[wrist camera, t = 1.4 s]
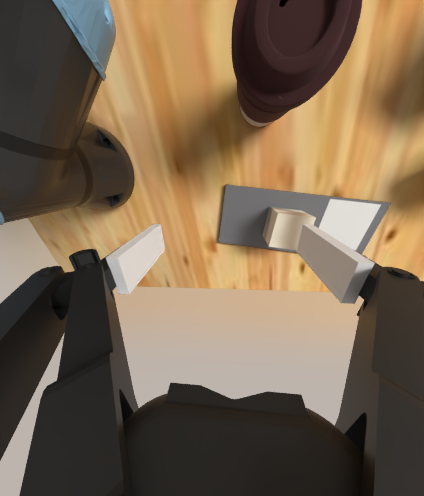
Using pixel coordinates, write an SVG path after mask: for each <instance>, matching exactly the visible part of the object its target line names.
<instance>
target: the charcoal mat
mask: <svg viewBox="0 0 424 496" xmlns="http://www.w3.org/2000/svg"><path fill="white" fill-rule="evenodd" d="M390 204H391V203H386V202H377V201H368V200H359V199H350V198H342V197H333V196H324V195H315V194H306V193H297V192H288V191H279V190H270V189H261V188H252V187H243V186H235V185H226V188H225V196H224V204H223V212H222V220H221V228H220V236H219V242H220V243H227V244H235V245H243V246H250V247H258V248H266V249H273V250H281V251H289V252H296V251H297V250H290V249H283V248H275V247H269V246H268V244H267V243H266V241H265V239H264V237H263V231H264V227H265V223H266V219H267V215H268V211H269V207H270V206H271V207H279V208H288V209H296V210H302V211H304V212H306V213H308V214H310V215H312V216H314V217H316V220H315V222H314V226H316V227H317V228H319V229H320V230H322V231H324V232H325V233H327V234H329V235H330V236H332V237H333V238H335V239H337V240H338V241H340V242H341V243H343V244H345V245H346V246H348V247H349V248H351V249H353V250H355V251H357V252H359V253H360V254H362V253H363V251H364V249H365V248H366V246H367V244H368V242H369V241H370V239H371V237H372V235H373V234H374V232H375V230H376V229H377V227H378V225H379V223H380V222H381V220H382V218H383V216H384V215H385V213H386V211H387V210H388V208H389V206H390ZM296 253H297V252H296Z"/></svg>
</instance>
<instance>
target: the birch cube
mask: <svg viewBox="0 0 424 496" xmlns="http://www.w3.org/2000/svg"><path fill="white" fill-rule="evenodd" d="M315 220H316V217H314V216H312V215H310V214H308V213H306V212H304V211H302V210H296V209H288V208H279V207H271V206H270V207H269V211H268V215H267V219H266V223H265V227H264V231H263V237H264V239H265V241H266V243H267V244H268V246H269V247H275V248H283V249H290V250H297V247H298V243H299V238H300V234H301V230H302V225H303V224H312V225H314V222H315Z"/></svg>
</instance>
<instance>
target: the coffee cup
mask: <svg viewBox="0 0 424 496" xmlns="http://www.w3.org/2000/svg"><path fill="white" fill-rule="evenodd" d="M361 7H362V0H238V1H237V4H236V8H235V13H234V19H233V26H232V62H233V68H234V72H235V76H236V79H237V92H238V99H239V104H240V110H241V113H242V115H243V117H244V118H245V120H246V121H247V122H248V123H250V124H251V125H254V126H258V127H261V126H266V125H268V124H270V123H272V122H273V121H275V120H277V119H279V118H280V117H282V116H283V115H284V114H286V113H287V112H288V111H289V110H291V109H293V108H296V107H298V106H300V105H301V104H303V103H305V102H306V101H308V100H309V99H310V98H311V97H313V96H314V95H315V94H316V93H317V92H318V91H319V90H320V89H321V88H322V87H323V86H324V85H325V84H326V83H327V82H328V81H329V80H330V79H331V77H332V76H333V75H334V74H335V72H336V71H337V69H338V68H339V66H340V65H341V63H342V62H343V60H344V58H345V56H346V54H347V52H348V50H349V48H350V46H351V43H352V41H353V38H354V36H355V33H356V29H357V25H358V21H359V18H360V13H361Z"/></svg>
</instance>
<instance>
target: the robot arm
mask: <svg viewBox="0 0 424 496" xmlns="http://www.w3.org/2000/svg"><path fill="white" fill-rule="evenodd" d="M115 37H116V27H115V21H114V16H113V13H112V10H111V7H110V4H109V2H108V0H0V225H2V224H3V223H6V222H10V221H15V220H19V219H23V218H28V217H32V216H37V215H41V214H46V213H50V212H55V211H59V210H64V209H69V208H73V207H83V208H90V209H97V210H107V209H112V208H115V207H118V206H120V205H122V204H124V203H125V202H126V201H127V200H128V199H129V197H130V196H131V194H132V191H133V187H134V171H133V166H132V163H131V160H130V158H129V156H128V154H127V152H126V150H125V148H124V147H123V146H122V144H121V143H120V142H119V141H118V140H117V139H116V137H114V136H113V135H112V134H111V133H110V132H108V131H107V130H105V129H103V128H101V127H99V126H96V125H94V124H91V123H88V122H86V120H87V117H88V114H89V112H90V109H91V107H92V104H93V102H94V99H95V96H96V94H97V91H98V89H99V86H100V84H101V82H102V80H103V81H104V80H105V79H106V74H105V71H106V68H107V64H108V61H109V58H110V55H111V52H112V48H113V45H114V42H115ZM164 250H165V247H164V241H163V235H162V230H161V224H152V225H151V226H150V227H148V228H147V229H145V230H144V231H143V232H141V233H140V234H138V235H137V236H136V237H134V238H133V239H131V240H130V241H128V242H127V243H126V244H124V245H123V246H121V247H120V248H118V249H116V250H115V251H114V252H112V253H111V254H110V255H108V256H106V257H105V258H103V259H102V260H101V261H100V258H99V255H98V253H97V251H96V250H95V249H87V250H82V251H78V252H76V253H73V254H72V255H70V256H69V259H70V261H71V263H72V265H73V267H74V269H75V271H73V272H67V273H65V272H64V271H63V269H62V267H61V266H53V267H47V268H43V269H41V270H40V271H38V272H36V273H34V274H33V275H31V276H30V277H29V278H28V279H27V280H26V281H25V282H24V283H23V284H22V285H20V286H19V288H17V289H16V290H15V291H14V292H13V293H12V294H11V295H10V296H8V297H7V298H6V299H5V300H4V301H3V302H2V303H1V304H0V460H1V458H2V456H3V454H4V452H5V450H6V448H7V446H8V444H9V442H10V440H11V438H12V436H13V434H14V432H15V430H16V428H17V426H18V424H19V422H20V420H21V418H22V416H23V414H24V412H25V410H26V408H27V406H28V404H29V402H30V400H31V398H32V396H33V394H34V392H35V390H36V388H37V386H38V384H39V382H40V380H41V378H42V376H43V374H44V372H45V370H46V368H47V366H48V364H49V362H50V360H51V358H52V356H53V354H54V352H55V350H56V348H57V346H58V344H59V342H60V340H61V338H62V336H63V334H64V332H65V335H64V341H63V347H62V353H61V360H60V366H59V372H58V378H57V381H56V382H54V383H52V384H50V385H48V386H47V387H46V389H45V390H44V391H43V394H42V397H41V400H40V404H39V409H38V414H37V418H36V423H35V427H34V432H33V437H32V441H31V446H30V450H29V455H28V460H27V464H26V469H25V474H24V478H23V482H22V487H21V491H20V496H424V281H420V280H419V278H418V277H417V276H415V275H414V274H412V273H410V272H407V271H405V270H402V269H398V268H393V267H382V266H380V265H378V264H377V263H375V262H373V261H372V260H370V259H368V258H367V257H365V256H363V255H362V254H360V253H359V252H357V251H355V250H353V249H351V248H349V247H348V246H346V245H345V244H343V243H341V242H340V241H338V240H337V239H335V238H333V237H332V236H330V235H329V234H327V233H325V232H324V231H322V230H320V229H319V228H317V227H316V226H314V225H312V224H303V225H302V230H301V234H300V238H299V243H298V247H297V251H296V252H297V253H298V254H299V255H300V256H301V258H302V259H303V260H304V261H305V262H306V263H307V264H308V266H309V267H310V268H311V269H312V270H313V271H314V273H315V274H316V275H317V276H318V277H319V278H320V279H321V281H322V282H323V283H324V284H325V285H326V286H327V288H328V289H329V290H330V291H331V292H332V293H333V294H334V296H335V297H336V298H337V299H338V300H339V301H340V303H353V304H354V303H355V302H356V300H357V298H358V296H361V297H362V298H363V299H364V302H363V304H362V306H361V308H360V310H359V311H358V313H357V316H359V321H358V325H357V330H356V336H355V341H354V345H353V350H352V355H351V359H350V364H349V369H348V374H347V379H346V384H345V389H344V394H343V398H342V404H341V408H340V413H339V416H338V419H337V422H336V424H335V426H334V425H333V424H332V423H330V422H329V421H327V420H326V419H325V418H323V417H322V416H320V415H319V414H317V413H315V412H313V411H311V410H310V409H307V408H305V405H304V402H303V399H302V396H301V395H298V394H287V393H276V392H264V393H260V394H256V395H252V396H248V397H244V398H240V399H230V398H228V397H226V396H223V395H221V394H219V393H217V392H214V391H212V390H210V389H208V388H205V387H203V386H200V385H190V384H179V383H170V386H169V390H168V394H164V395H161V396H159V397H156V398H154V399H153V400H151V401H149V402H147V403H146V404H145V405H143V406H142V407H140V408H138V405H137V402H136V399H135V395H134V391H133V386H132V381H131V376H130V371H129V367H128V362H127V357H126V352H125V347H124V342H123V337H122V332H121V327H120V323H119V318H118V313H117V308H116V303H115V298H114V294H113V292H112V290H113V289H114V288H115V287H117V290H118V293H119V294H130V293H131V292H132V291H133V289H134V288H135V287H136V286H137V284H138V283H139V282H140V281H141V279H142V278H143V277H144V276H145V274H146V273H147V272H148V270H149V269H150V268H151V267H152V265H153V264H154V263H155V262H156V260H157V259H158V258H159V257H160V255H161V254H162V253H163V252H164Z"/></svg>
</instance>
